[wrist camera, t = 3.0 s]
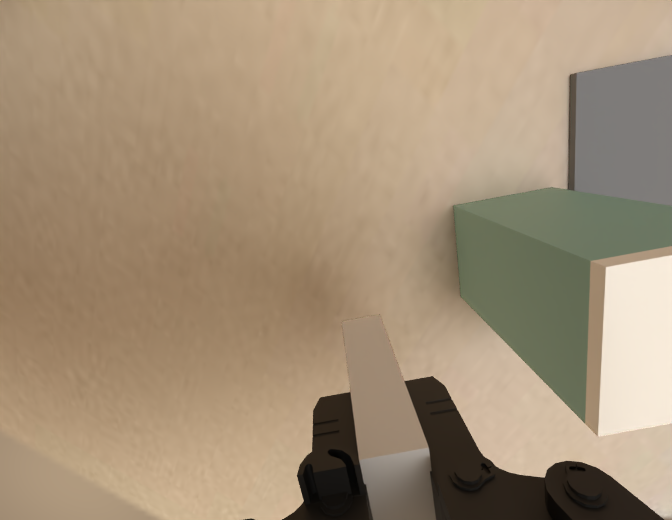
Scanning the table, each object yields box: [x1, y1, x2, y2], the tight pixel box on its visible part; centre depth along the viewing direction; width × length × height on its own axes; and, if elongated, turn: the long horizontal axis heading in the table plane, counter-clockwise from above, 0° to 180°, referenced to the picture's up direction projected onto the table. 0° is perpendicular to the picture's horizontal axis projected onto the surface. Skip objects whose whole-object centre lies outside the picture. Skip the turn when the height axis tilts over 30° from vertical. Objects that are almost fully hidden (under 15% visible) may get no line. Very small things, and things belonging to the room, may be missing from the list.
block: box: [453, 187, 672, 437], centre depth 17 cm, size 6×6×12 cm
